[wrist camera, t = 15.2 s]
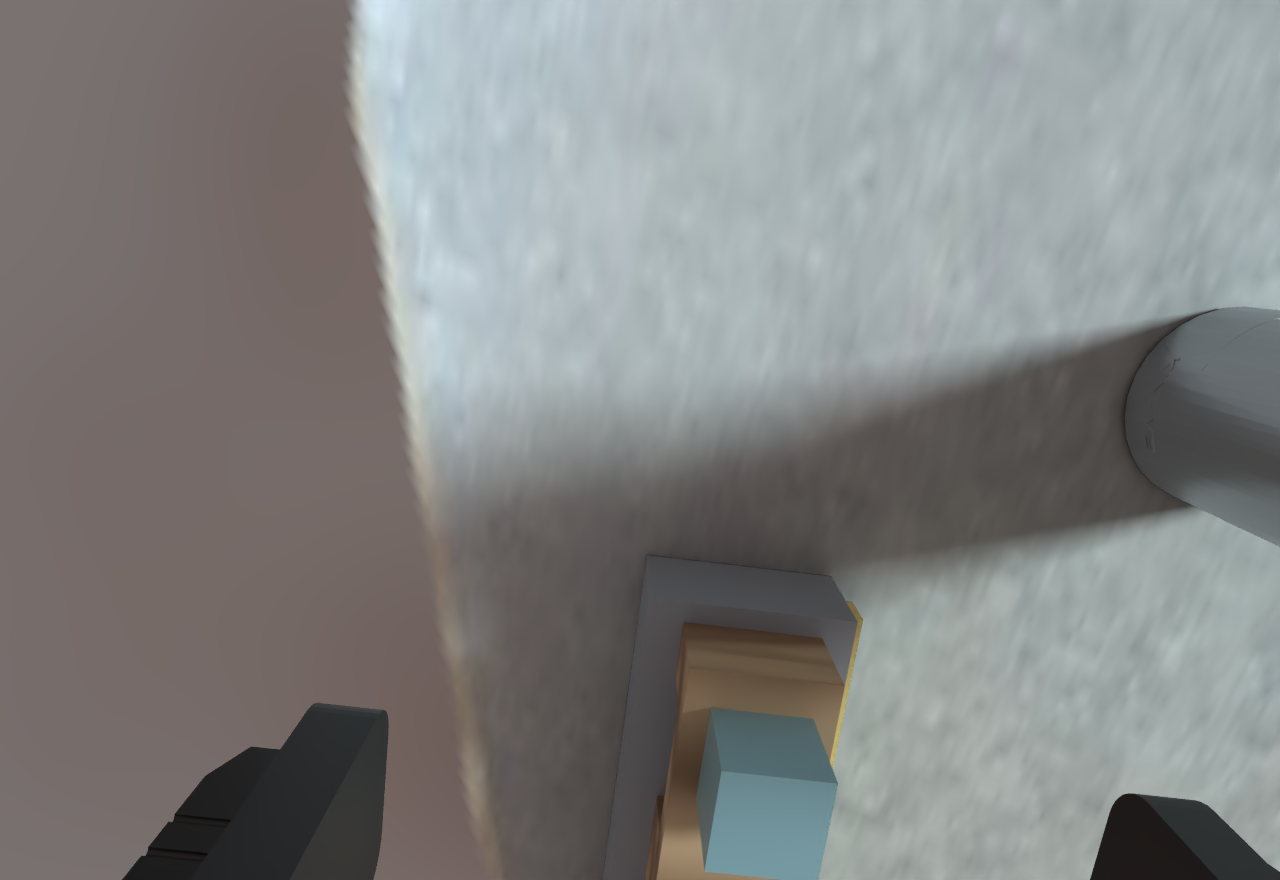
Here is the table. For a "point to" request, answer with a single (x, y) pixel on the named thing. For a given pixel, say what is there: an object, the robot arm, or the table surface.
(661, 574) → the dock
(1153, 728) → the table surface
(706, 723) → the board
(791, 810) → the block
